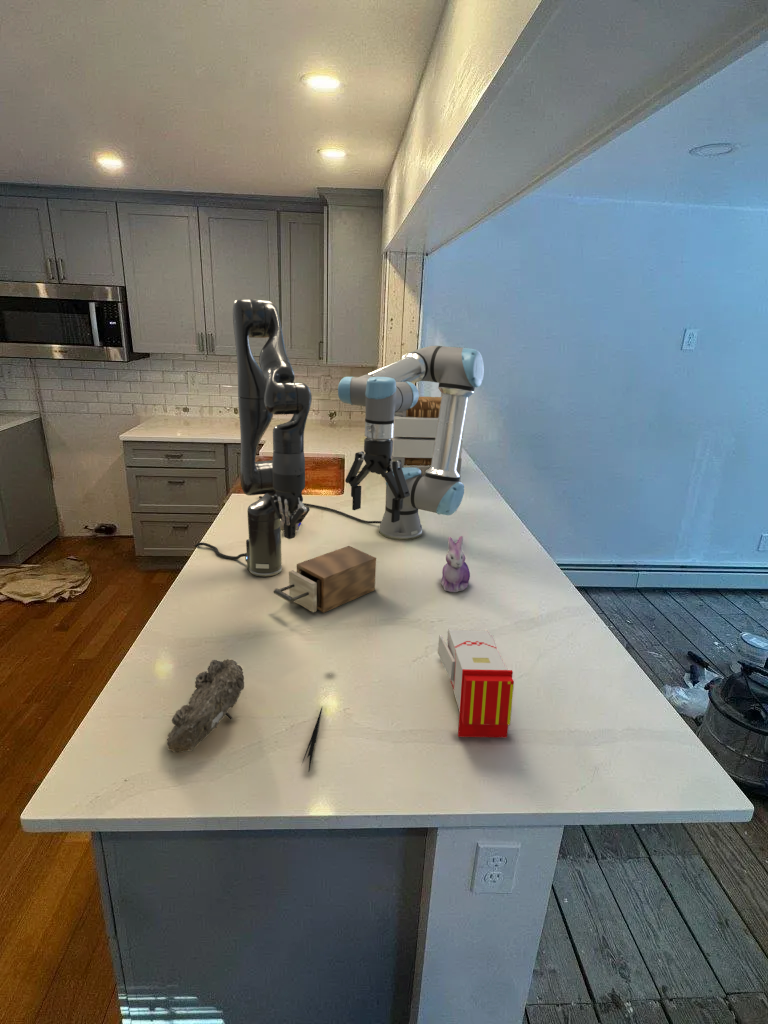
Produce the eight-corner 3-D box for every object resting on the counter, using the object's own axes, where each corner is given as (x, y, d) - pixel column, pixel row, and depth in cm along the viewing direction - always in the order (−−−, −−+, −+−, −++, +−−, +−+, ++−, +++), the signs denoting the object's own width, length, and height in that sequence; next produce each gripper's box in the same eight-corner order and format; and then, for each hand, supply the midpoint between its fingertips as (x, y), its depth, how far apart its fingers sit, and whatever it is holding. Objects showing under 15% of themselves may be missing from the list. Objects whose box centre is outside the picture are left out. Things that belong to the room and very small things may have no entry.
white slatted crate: (382, 463, 289) (386, 382, 275) (445, 464, 293) (451, 384, 279) (390, 482, 257) (394, 392, 243) (460, 483, 261) (468, 394, 247)
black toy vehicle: (298, 540, 193) (303, 520, 207) (298, 520, 190) (303, 501, 204) (279, 540, 193) (285, 519, 207) (278, 520, 190) (284, 501, 203)
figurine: (451, 596, 157) (455, 546, 152) (431, 580, 166) (435, 533, 161) (478, 590, 162) (484, 541, 157) (458, 575, 170) (462, 529, 165)
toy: (488, 613, 130) (523, 677, 101) (484, 667, 133) (517, 744, 104) (435, 612, 130) (455, 676, 101) (432, 666, 133) (451, 743, 103)
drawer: (294, 620, 140) (293, 591, 138) (270, 606, 147) (269, 578, 144) (362, 591, 156) (363, 564, 154) (338, 578, 163) (339, 553, 160)
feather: (331, 679, 122) (336, 673, 122) (307, 777, 96) (313, 769, 95) (324, 675, 122) (329, 669, 121) (298, 772, 95) (304, 764, 95)
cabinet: (323, 613, 146) (323, 578, 143) (297, 597, 154) (296, 563, 150) (374, 590, 159) (376, 557, 156) (348, 576, 166) (348, 545, 163)
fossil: (192, 660, 117) (244, 628, 112) (224, 691, 120) (276, 661, 115) (142, 746, 98) (202, 712, 93) (182, 779, 101) (242, 748, 96)
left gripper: (258, 465, 134) (261, 533, 140) (293, 478, 126) (294, 550, 132) (284, 460, 140) (285, 526, 145) (319, 472, 131) (319, 541, 137)
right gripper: (333, 432, 152) (332, 507, 159) (409, 448, 138) (404, 530, 145) (351, 428, 157) (349, 501, 164) (426, 444, 143) (421, 522, 150)
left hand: (289, 537), depth 139 cm, fingers closed
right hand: (375, 515), depth 155 cm, fingers open, 13 cm apart
